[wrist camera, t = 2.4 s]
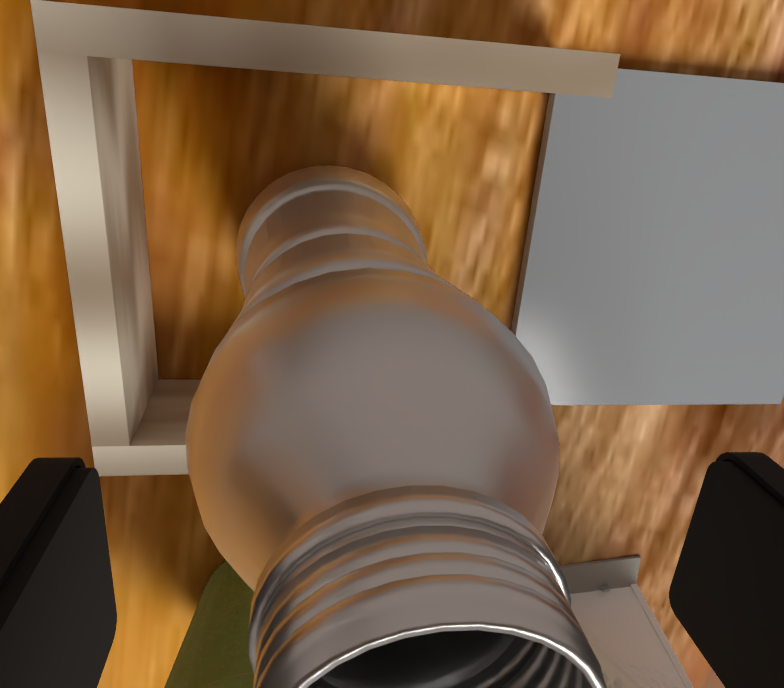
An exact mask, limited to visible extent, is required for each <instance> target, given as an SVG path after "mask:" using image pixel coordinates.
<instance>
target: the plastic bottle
mask: <svg viewBox="0 0 784 688" xmlns="http://www.w3.org/2000/svg"><path fill="white" fill-rule="evenodd" d="M236 263H237V268H238V273H239V278H240V282H241V287H242V291H243V293H244V295H245V302H244V304H243V307H242V310H241V313H240V314H239V315H238V317H237V318H236V320H235V321H234V323H233V324H232V326H231V327H230V329H229V330H228V332H227V333H226V335H225V336H224V338H223V339H222V341H221V342H220V344H219V345H218V346H217V348H216V349H215V351H214V353H213V355H212V357H211V359H210V362H209V364H208V366H207V368H206V370H205V372H204V375H203V377H202V379H201V381H200V384H199V386H198V389H197V391H196V393H195V395H194V397H193V400H192V402H191V407H190V412H189V417H188V423H187V428H186V433H185V438H186V457H187V468H188V472H189V475H190V479H191V483H192V487H193V491H194V495H195V498H196V502H197V505H198V508H199V511H200V515H201V518H202V521H203V524H204V527H205V529H206V531H207V532H208V534H209V536H210V537H211V539H212V541H213V542H214V544H215V546H216V547H217V549H218V551H219V552H220V554H221V555H222V556H223V557H224V558H225V559H226V561H227V562H228V563H229V564H230V565H231V567H232V568H233V569H234V570H235V571H236V572H237V574H238V575H239V576H240V577H241V578H242V579H243V581H244V582H245V583H246V584H247V585H248V586H249V587H250V588H251V589H252V590H253V591H254V595H253V599H252V602H251V611H250V621H249V632H248V635H249V659H250V662H251V665H252V669H253V672H254V683H253V688H607V686H606V684H605V681H604V677H603V673H602V669H601V665H600V663H599V661H598V660H597V658H596V656H595V654H594V652H593V650H592V648H591V646H590V644H589V642H588V640H587V638H586V636H585V634H584V632H583V630H582V628H581V626H580V624H579V622H578V620H577V618H576V616H575V615H574V613H573V611H572V609H571V597H570V593H569V589H568V586H567V582H566V578H565V576H564V574H563V572H562V570H561V568H560V566H559V565H558V563H557V561H556V559H555V557H554V555H553V553H552V551H551V550H550V548H549V546H548V544H547V543H546V541H545V539H544V538H543V536H542V534H543V532H544V528H545V525H546V522H547V518H548V515H549V512H550V509H551V505H552V502H553V498H554V494H555V490H556V485H557V481H558V476H559V439H558V435H557V430H556V425H555V420H554V415H553V411H552V407H551V402H550V398H549V394H548V390H547V385H546V383H545V381H544V379H543V377H542V375H541V373H540V371H539V369H538V367H537V365H536V363H535V361H534V359H533V357H532V356H531V354H530V353H529V352H528V351H527V350H526V348H525V347H524V346H523V345H522V343H521V342H520V341H519V340H518V339H517V337H516V336H515V335H514V334H513V333H512V331H511V330H509V329H508V328H507V327H506V326H505V325H504V324H502V323H501V322H500V321H499V320H498V319H497V318H496V317H495V316H494V315H493V314H492V313H490V312H489V311H488V310H487V309H485V308H484V307H483V306H482V305H480V304H479V303H478V302H476V301H475V300H474V299H473V298H471V297H470V296H469V295H467V294H465V293H463V292H462V291H461V290H459V289H457V288H456V287H454V286H453V285H451V284H450V283H448V282H447V281H445V280H444V279H442V278H441V277H439V276H438V275H436V274H435V273H434V271H433V270H432V269H431V268H430V267H429V266H428V264H427V254H426V249H425V246H424V242H423V239H422V235H421V232H420V229H419V225H418V223H417V221H416V219H415V218H414V216H413V214H412V212H411V210H410V208H409V207H408V206H407V205H406V203H405V202H404V201H403V200H402V199H401V197H400V196H399V195H398V194H397V193H396V192H395V191H393V190H392V189H391V188H390V187H389V186H387V185H386V184H385V183H384V182H382V181H380V180H378V179H377V178H375V177H373V176H371V175H369V174H367V173H365V172H362V171H358V170H355V169H352V168H349V167H342V166H333V165H322V166H311V167H306V168H302V169H299V170H296V171H293V172H289V173H288V174H286V175H284V176H282V177H280V178H279V179H277V180H275V181H273V182H272V183H271V184H269V185H268V186H267V187H266V188H265V189H264V190H263V191H261V192H260V193H259V194H258V195H257V197H256V198H255V199H254V201H253V202H252V203H251V205H250V206H249V208H248V209H247V211H246V213H245V215H244V218H243V220H242V222H241V224H240V227H239V232H238V237H237V242H236Z"/></svg>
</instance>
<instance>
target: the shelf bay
mask: <svg viewBox="0 0 784 688" xmlns="http://www.w3.org/2000/svg"><path fill="white" fill-rule="evenodd" d="M30 2H31V9H32V16H33V23H34V31H35V38H36V45H37V53H38V60H39V67H40V74H41V82H42V89H43V96H44V103H45V111H46V118H47V125H48V132H49V140H50V147H51V154H52V161H53V169H54V176H55V183H56V190H57V198H58V205H59V212H60V219H61V227H62V234H63V241H64V249H65V256H66V263H67V270H68V278H69V285H70V292H71V299H72V307H73V314H74V321H75V328H76V336H77V343H78V350H79V357H80V365H81V372H82V379H83V386H84V394H85V401H86V408H87V415H88V423H89V430H90V437H91V445H92V452H93V459H94V466H95V469H97V471H98V474H99V476H135V475H178V474H189V472H188V468H187V457H186V438H185V433H186V428H187V423H188V417H189V412H190V407H191V402H192V400H193V397H194V395H195V393H196V391H197V389H198V386H199V384H200V381H201V379H159V376H158V364H157V352H156V340H155V328H154V316H153V304H152V292H151V280H150V268H149V256H148V244H147V232H146V220H145V208H144V196H143V184H142V172H141V160H140V148H139V137H138V125H137V113H136V101H135V89H134V77H133V65H132V60H144V61H156V62H169V63H181V64H194V65H206V66H219V67H231V68H243V69H256V70H268V71H281V72H293V73H306V74H318V75H331V76H343V77H356V78H368V79H381V80H393V81H406V82H418V83H431V84H443V85H456V86H468V87H481V88H493V89H506V90H518V91H531V92H543V93H556V94H568V95H580V96H593V97H605V98H612V94H613V89H614V84H615V79H616V74H617V69H618V64H619V59H620V54H614V53H603V52H593V51H582V50H571V49H560V48H550V47H539V46H528V45H517V44H506V43H496V42H485V41H474V40H463V39H452V38H442V37H431V36H420V35H409V34H399V33H388V32H377V31H366V30H355V29H345V28H334V27H323V26H312V25H301V24H291V23H280V22H269V21H258V20H248V19H237V18H226V17H215V16H204V15H194V14H183V13H172V12H161V11H150V10H140V9H129V8H118V7H107V6H97V5H86V4H75V3H64V2H53V1H43V0H30Z"/></svg>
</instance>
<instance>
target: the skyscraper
mask: <svg viewBox="0 0 784 688" xmlns="http://www.w3.org/2000/svg"><path fill="white" fill-rule="evenodd" d="M640 560H641V557H640V555H638V556H630V557H622V558H614V559H606V560H598V561H590V562H582V563H575V564H567V565H559V566H560V568H561V570H562V572H563V574H564V576H565V578H566V582H567V586H568V589H569V593H570V597H571V609H572V611H573V613H574V615H575V616H576V618H577V620H578V622H579V624H580V626H581V628H582V630H583V632H584V634H585V636H586V638H587V640H588V642H589V644H590V646H591V648H592V650H593V652H594V654H595V656H596V658H597V660H598V661H599V663H600V665H601V669H602V673H603V677H604V681H605V684H606V686H607V688H694V687H693V685H692V683H691V682H690V680H689V678H688V676H687V674H686V672H685V671H684V669H683V667H682V665H681V663H680V661H679V659H678V658H677V656H676V654H675V652H674V650H673V648H672V647H671V645H670V643H669V641H668V639H667V637H666V636H665V634H664V632H663V630H662V628H661V627H660V625H659V623H658V621H657V619H656V618H655V616H654V614H653V612H652V610H651V609H650V607H649V605H648V603H647V601H646V599H645V598H644V596H643V594H642V592H641V590H640V589H639V587H638V585H637V583H636V581H637V576H638V571H639V565H640Z"/></svg>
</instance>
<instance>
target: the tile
mask: <svg viewBox="0 0 784 688" xmlns="http://www.w3.org/2000/svg"><path fill="white" fill-rule="evenodd" d="M511 331H512V333H513V334H514V335H515V336H516V337H517V339H518V340H519V341H520V342H521V343H522V345H523V346H524V347H525V348H526V350H527V351H528V352H529V353H530V354H531V356H532V357H533V359H534V361H535V363H536V365H537V367H538V369H539V371H540V373H541V375H542V377H543V379H544V381H545V383H546V385H547V390H548V394H549V398H550V402H551V405H676V404H781V401H782V399H783V396H784V83H777V82H766V81H754V80H743V79H732V78H720V77H709V76H698V75H687V74H675V73H664V72H653V71H641V70H630V69H619V68H618V69H617V74H616V79H615V84H614V89H613V94H612V98H605V97H593V96H580V95H568V94H556V93H549V98H548V105H547V111H546V117H545V123H544V129H543V135H542V142H541V148H540V154H539V160H538V166H537V173H536V179H535V185H534V191H533V197H532V204H531V210H530V216H529V222H528V228H527V235H526V241H525V247H524V253H523V259H522V266H521V272H520V278H519V284H518V290H517V296H516V303H515V309H514V315H513V321H512V327H511Z"/></svg>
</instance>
